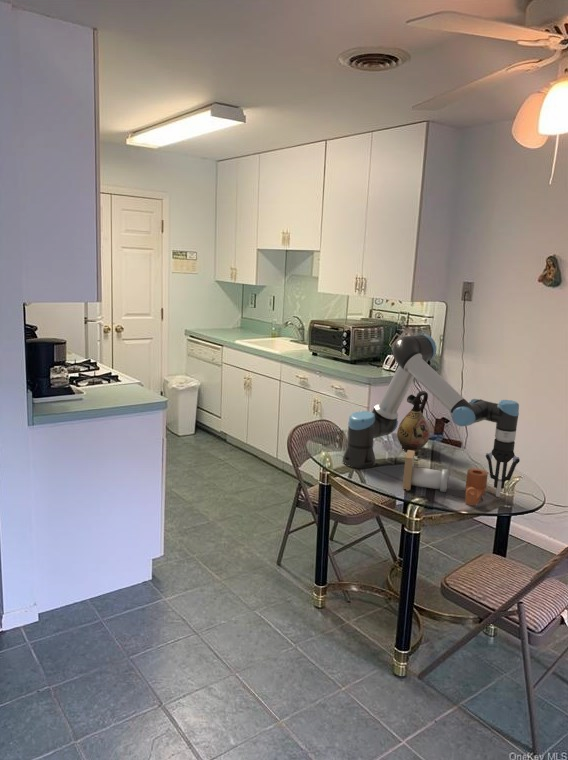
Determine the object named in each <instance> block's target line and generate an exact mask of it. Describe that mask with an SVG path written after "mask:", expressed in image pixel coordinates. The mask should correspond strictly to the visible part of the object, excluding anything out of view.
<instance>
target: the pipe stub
mask: <svg viewBox="0 0 568 760" xmlns="http://www.w3.org/2000/svg"><path fill="white" fill-rule="evenodd" d="M415 453H416V452H415V451H412V450H408V451H406V455H405V458H404V468H403V469H404V471H403V482H402V490H403V489H406V490H405V491H409V490H410V491H411V487H412V486H415V487H422V488H428V489H434V490H435V489H436V490H439V492H441V493H447V487H448V478H449V476H448V475H449V469H445V468H442V469H441V470H438V469H432V468H425V467H416V466H414V465H415V455H416V454H415Z"/></svg>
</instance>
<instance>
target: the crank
mask: <svg viewBox="0 0 568 760" xmlns="http://www.w3.org/2000/svg"><path fill="white" fill-rule="evenodd" d="M488 474H489V473H488V472H487V471H486V470H484V469H480V468H469V469H467V473H466V482H465V490H466V498H465V501H464V502H465V505H470V506H477V505H478V504H479V502H480V501H481V500H480V499H481V498H482V496H483V497H484V495H485V494H486V491H487V483H488V477H489V476H488Z"/></svg>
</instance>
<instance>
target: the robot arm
mask: <svg viewBox="0 0 568 760" xmlns="http://www.w3.org/2000/svg"><path fill="white" fill-rule="evenodd" d="M436 354H437V345H436V342H435V340H434V339H433V337H431V336H430V335H428V334H421V333H419V334H416V335H405V336H402V337H399V338H398V339H396V341H395V342H394V343H393V347H392V356H393V359H394V360H395V362H396V363H397V365H398V366H397V369H396V370H395V372H394V374H393V376H392V378H391V381H390V383H389V385H388V386H387V389H386V390H385V392H384V394H383V397H382V399H381V400H380V402H379V403H376V404H375V405H374V407H373V409H372V411H368V410H367V411H366V410H363V411H360V410H358V411H355V412H353V413H351V414H350V416H349V419H348V424H347V425H348V427H347V444H346V448H345V451H344V453H343V456H342V463H343V462H344V463H346V464H347V465H350V466H352V467H351V468H353V467H356V468H355V469H370V468H373V467H375V465H376V462H377V461H376V460H377V459H376V455H375V451H374V439H377V438H380V437H385V436H388V435H390V434H392V433H393V432H395V430H396V429H398V426H399V425H398V424H399V420H398V418H399V414H398V410H399V408H400V407H401V404H402V403H403V401H404V398H405V396H406V394H407V392H408V391H409V388H410V387H411V385H412V383H413V381H414V380H415V379H416V380H417V381H418V382H419V383H420V384H421V385H422V386H423V387H424V388H425V389H426V390H427V391H428V392H429V393H430V394H431V395H432V396H433V397H434V398H436V400H437V401H439V403H441V404H442V406H444V407H445V408H446V409H447V410H448V411H449V412H450V413H451V414H452V415H451V418H452V420H453V423H454V424H455V425H457V426H458V427H467V426H472V425H473V424H475V423H480V422H483V421H488V422H491V423H495V425H496V426H495V433H494V441H493V448H492V450H491V451H490V452H489V453H488V452H487V453H486V452H485V458H486V460H487V463H488V470H489V477H490V479H493V480H494V481H493V487H494V489H495V497H498V498H500V497H501V493H502V492H501V491H502V490H503V489H504V488H505V482H506V481H507V482H508V481H509V482H510V481H511V479H512V477H513V473H514V471H515V470H516V467H517V464H518V463H520V461H521V460H520V457H518V456H516V455H515V444H516V443H515V441H516V434H517V425H518V420H519V416H520V415H519V414H520V413H519V411H520V410H519V409H520V404H519V403H518V402H517V401H515V400H511V399H510V400H509V399H501V400H499V402H498V403H496V402H492V401H487V400H484V399H480V398H479V399H477V398H473V399H471V400H470V401H469V402H468V401H467V400H466V399H465V398H464V397H463V396H462V395H461V394H460V393H459V392H458V391H457V390H456V389H454V388H453V387H452V386H451V384H449V382H448V381H446V380H445V379H444V378H443V377H442V376H441V375H440V374H439V373H438V372H437V371H436V370H435V369H434V368H432V366H431V365H429V364H428V363H427V362H428V361H431V360H432V359H433V358H435V356H436ZM492 458H494V459H495V461H496V465H495V471H494V470H493V464H492ZM511 460H512V462H511V465H510V467H509V470H508V472H507V468H508V463H509V462H510V461H511ZM344 463H343V464H344ZM501 463H503V464H502V470H501V471H502V472H501V478H499V476H500V469H501ZM347 465H346V466H347ZM350 466H349V467H350ZM494 473H495V474H494Z"/></svg>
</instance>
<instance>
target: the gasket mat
mask: <svg viewBox="0 0 568 760" xmlns="http://www.w3.org/2000/svg"><path fill="white" fill-rule="evenodd" d="M446 496H448V497H454V498H455V497H456V498H461V499H462V498H464V499H466V489H462V488H461V489H460V488H454V487H449V486H447V488H446ZM480 501H482V502H483V501H484V495H483V496H482V498H481V499H480Z"/></svg>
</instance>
